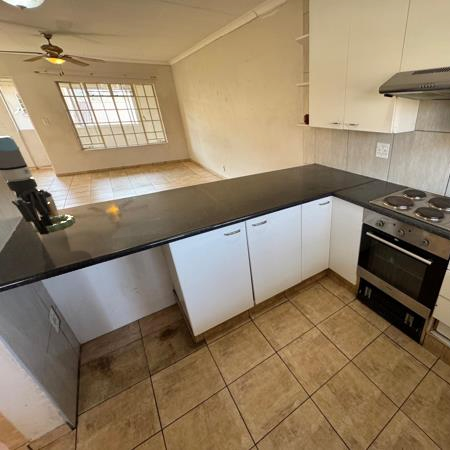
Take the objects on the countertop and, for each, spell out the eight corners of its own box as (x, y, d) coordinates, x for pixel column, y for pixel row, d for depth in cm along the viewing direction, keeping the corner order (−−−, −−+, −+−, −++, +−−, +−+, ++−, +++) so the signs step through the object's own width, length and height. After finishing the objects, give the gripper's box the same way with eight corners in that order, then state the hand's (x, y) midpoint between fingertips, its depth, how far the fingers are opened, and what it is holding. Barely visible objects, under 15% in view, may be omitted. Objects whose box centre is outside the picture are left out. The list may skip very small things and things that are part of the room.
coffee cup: (39, 223, 128) (24, 197, 121) (40, 218, 135) (26, 192, 128) (62, 218, 133) (49, 192, 127) (62, 213, 140) (50, 188, 133)
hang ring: (26, 235, 103) (22, 229, 102) (49, 221, 115) (46, 215, 114) (64, 232, 106) (61, 226, 104) (83, 218, 118) (80, 213, 116)
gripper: (14, 184, 88) (45, 240, 99) (45, 172, 102) (69, 222, 113) (-11, 186, 87) (23, 242, 98) (24, 173, 101) (50, 224, 112)
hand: (47, 231), depth 106 cm, fingers closed on hang ring, 3 cm apart
